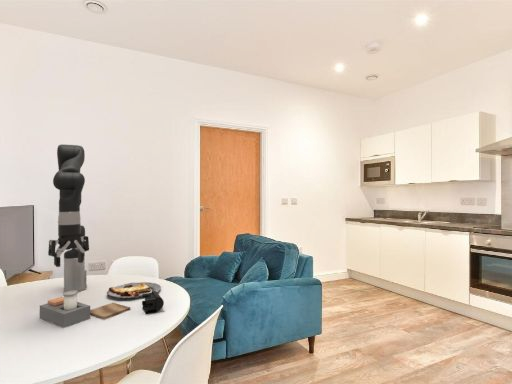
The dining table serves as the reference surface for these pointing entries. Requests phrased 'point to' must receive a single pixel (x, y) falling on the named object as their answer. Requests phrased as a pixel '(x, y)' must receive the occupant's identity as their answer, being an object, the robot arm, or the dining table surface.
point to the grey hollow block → (64, 314)
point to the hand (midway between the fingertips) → (69, 264)
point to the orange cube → (56, 301)
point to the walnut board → (108, 310)
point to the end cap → (152, 302)
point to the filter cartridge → (70, 300)
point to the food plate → (133, 290)
